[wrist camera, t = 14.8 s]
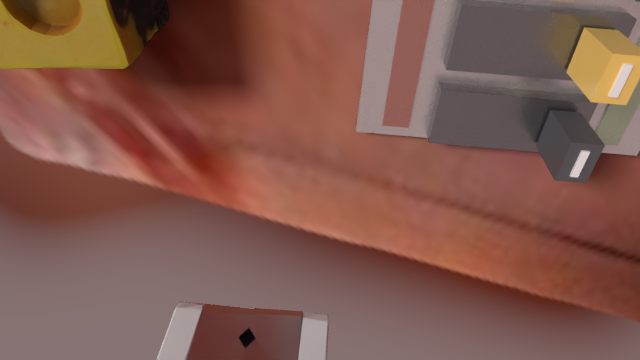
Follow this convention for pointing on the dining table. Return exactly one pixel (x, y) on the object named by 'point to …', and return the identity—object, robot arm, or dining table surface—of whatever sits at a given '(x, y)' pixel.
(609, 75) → the breaker
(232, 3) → the dining table surface
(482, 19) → the panel
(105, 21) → the candle
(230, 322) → the robot arm
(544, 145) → the breaker
